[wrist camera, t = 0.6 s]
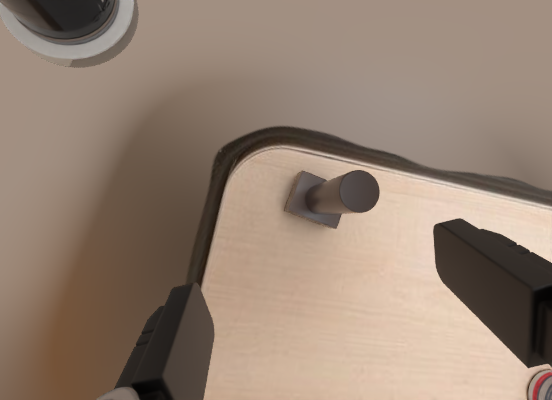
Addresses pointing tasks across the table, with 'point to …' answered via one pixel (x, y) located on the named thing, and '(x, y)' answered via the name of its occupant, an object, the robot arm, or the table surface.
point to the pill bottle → (541, 386)
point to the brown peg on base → (332, 196)
